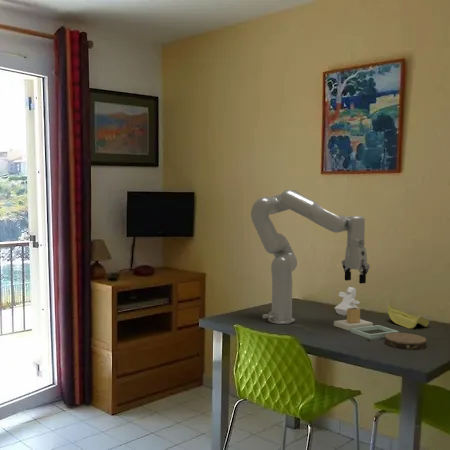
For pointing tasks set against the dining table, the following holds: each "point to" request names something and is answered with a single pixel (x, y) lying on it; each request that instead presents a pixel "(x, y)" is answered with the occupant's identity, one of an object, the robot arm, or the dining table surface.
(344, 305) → the white faceted figurine
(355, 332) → the tray
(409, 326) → the plastic component
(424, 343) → the wood slice coaster
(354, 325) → the block
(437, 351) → the dining table surface
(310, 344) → the dining table surface
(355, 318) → the tan rectangular block
